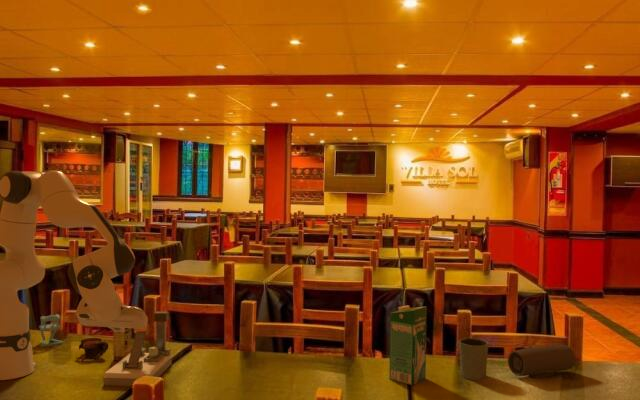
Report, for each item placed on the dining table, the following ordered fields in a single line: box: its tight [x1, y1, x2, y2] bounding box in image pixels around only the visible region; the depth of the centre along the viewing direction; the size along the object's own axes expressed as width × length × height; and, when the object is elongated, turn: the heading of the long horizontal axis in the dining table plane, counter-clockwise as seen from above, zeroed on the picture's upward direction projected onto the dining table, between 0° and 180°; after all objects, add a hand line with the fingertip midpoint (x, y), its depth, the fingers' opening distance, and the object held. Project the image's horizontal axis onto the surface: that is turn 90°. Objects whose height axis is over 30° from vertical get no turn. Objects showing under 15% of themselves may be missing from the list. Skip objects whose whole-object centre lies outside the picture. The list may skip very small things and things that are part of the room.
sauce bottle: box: [112, 304, 132, 362], centre depth 201 cm, size 7×6×20 cm
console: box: [103, 347, 173, 387], centre depth 185 cm, size 15×22×6 cm
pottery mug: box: [78, 337, 109, 362], centre depth 204 cm, size 12×9×8 cm
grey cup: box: [458, 337, 490, 381], centre depth 188 cm, size 10×10×12 cm
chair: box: [38, 313, 63, 348], centre depth 220 cm, size 8×8×12 cm
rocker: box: [130, 347, 147, 355], centre depth 194 cm, size 4×3×2 cm
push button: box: [148, 346, 158, 358], centre depth 188 cm, size 3×3×3 cm
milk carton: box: [388, 305, 428, 386], centre depth 184 cm, size 9×9×25 cm
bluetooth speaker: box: [507, 344, 576, 379], centre depth 190 cm, size 23×9×10 cm, turn 111°
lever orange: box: [126, 322, 151, 369], centre depth 183 cm, size 4×2×15 cm
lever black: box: [153, 310, 170, 355], centre depth 193 cm, size 4×2×15 cm, turn 87°
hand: (119, 330), depth 170 cm, fingers closed
